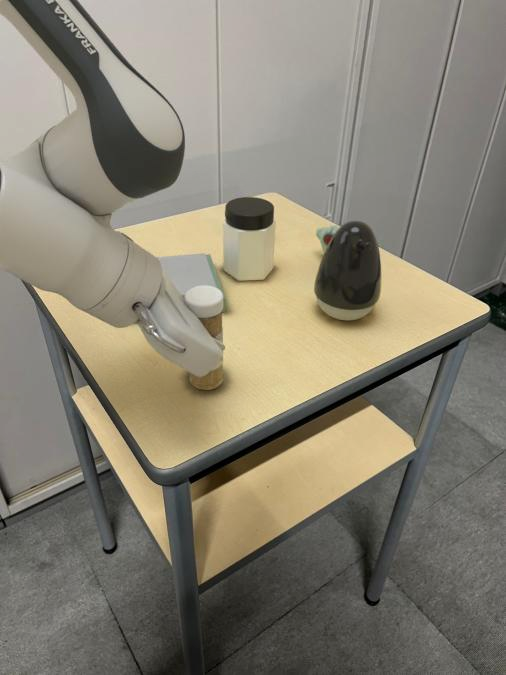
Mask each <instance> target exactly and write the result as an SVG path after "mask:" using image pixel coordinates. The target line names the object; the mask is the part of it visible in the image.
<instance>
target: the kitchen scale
mask: <svg viewBox="0 0 506 675" xmlns="http://www.w3.org/2000/svg"><path fill="white" fill-rule="evenodd" d="M155 257H156V258H158V260H159V261H160V263H161V266H162V270H163V271H164V272H165V273H166V274H167V276H168V277H169V279H170V280H171V281H172V283H173V284H174V285H175V287H176V288H177V290H178V291H179V292H180V294H181V295H182V297H183V298H184V297H185V294H186V292H187V291H188V290H189V289H191V288H193V287H196V286H202V285H206V286H212V287H215V288H217V289H219V290H220V291H221V292H222V294H223V311H222V313H226V311H227V310H226V309H227V308H226V306H227V302H226V296H225V293H224V289H223V288H222V284H221V282H220V279H219V275H218V274H217V270H216V267H215V264H214V261H213V259H212V256H211V254H209V253H205V252H204V253H192V254H191V253H190V254H179V255H169V256H168V255H167V256H166V255H165V256H155Z"/></svg>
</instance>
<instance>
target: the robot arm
mask: <svg viewBox="0 0 506 675" xmlns="http://www.w3.org/2000/svg"><path fill="white" fill-rule="evenodd" d="M0 15H1V16H3V17H4V18H5V19H6V20H7V21H8V22H9V23H10V24H11V25H12V26H13V27H14V29H16V30H17V32H18V33H19V34H20V35H21V36H22V37H23V39H24V40H25V41H26V42H27V43H28V44H29V46H31V47H32V49H33V50H34V51H35V52H36V54H37V55H39V57H40V58H41V59H42V60H43V61H44V63H45V64H46V65H47V66H48V67H49V69H51V71H52V72H53V73H54V74H55V75H56V76H57V77H58V79H59V80H61V82H62V83H63V84H64V85H65V87H66V88H67V89H68V90H69V92H70V93H71V94H72V96H73V98H74V100H75V106H76V109H75V110H73V111H72V112H70V114H68V115H67V116H65V117H64V118H63V119H62V120H60V122H58V123H56V124H55V125H53V126H51V127H50V128H49V129H48V130H47V131H45V132H44V133H43V134H41V135H40V136H39V137H37V138H36V139H35V140H34V141H33V142H32V143H30V144H29V146H27V147H26V148H25V149H24V150H22V151H20V152H19V153H17V154H16V155H14V156H12V157H9V158H8V159H6V160H3V161H0V268H1V270H4V271H5V272H6V273H9V274H10V275H12V276H14V277H15V278H18V279H19V280H21V281H22V282H25V283H27V284H28V285H30V286H32V287H35V288H37V289H39V290H41V291H43V292H48V293H54V294H58V296H61V297H62V298H64V299H66V300H67V302H68V303H70V304H71V305H72V306H73V307H74V308H76V309H78V310H79V311H82V312H84V313H86V314H88V315H90V316H92V317H94V318H96V319H98V320H99V321H102V322H104V323H106V325H107V324H108V325H110V326H111V327H113V328H116V329H124V328H128V327H130V326H132V325H138V327H139V328H140V330H141V332H142V334H143V336H144V337H145V339H146V341H147V343H148V344H149V346H150V347H151V348H152V349H153V350H154V351H155V352H156V353H158V354H159V355H160V356H161V357H163V358H164V359H166V360H167V361H169V362H171V363H173V364H174V365H176V366H177V367H179V368H181V369H183V370H185V371H186V372H188V373H189V374H190V373H192V374H194V375H195V376H198V377H202V376H205V375H207V374H208V373H209V372H210V371H211V370H212V369H213V367H214V366H215V365H216V364H217V363H218V361H219V360H220V359H221V357H222V355H223V356H224V351H225V349H226V346H225V344H224V342H223V343H222V342H221V340H220V339H218V338H216V337H215V336H213V335H210V334H209V332H208V331H207V330H206V328H205V327H204V326H203V324H202V323H201V321H200V320H199V319H198V317H197V316H196V315H195V313H194V312H193V311H192V310H191V309H190V308H189V307H188V306H187V305H186V304H185V299H184V298H183V297H182V295H181V294H180V292H179V291H178V290H177V288H176V287H175V285H174V284H173V283H172V281H171V280H170V279H169V277H168V276H167V274H166V273H165V272H164V271H163V270H162V266H161V263H160V261H159V260H158V258H156V257H157V256H155V255H153V253H150V252H149V251H147V250H146V249H145V248H143V247H142V246H140V245H139V244H137V243H136V242H135V241H134V240H133V239H132V238H131V237H129V236H128V235H127V234H125V233H124V232H122V231H120V230H117V231H116V230H115V229H114V228H113V227H112V226H111V225H112V224H111V220H112V216H113V213H115V212H117V211H119V210H120V209H122V208H124V207H126V206H128V205H129V204H131V203H134V202H135V201H137V200H139V199H144V198H145V197H147V196H150V195H151V196H152V195H153V194H155V193H158V192H160V191H163V190H165V189H168V188H170V187H171V186H173V185H174V184H175V183H176V181H177V180H178V178H179V176H180V173H181V170H182V166H183V162H184V159H185V150H186V137H185V136H186V135H185V129H184V125H183V123H182V120H181V118H180V116H179V114H178V112H177V111H176V109H175V107H174V106H173V105H172V104H171V102H170V101H169V100H168V98H166V97H165V95H163V94H162V92H160V91H159V90H158V89H157V88H156V87H155V86H154V85H153V84H152V83H151V82H150V81H148V79H146V78H145V77H144V76H143V75H142V74H141V73H140V72H139V71H138V70H137V69H136V68H135V67H134V66H133V65H132V64H131V63H130V62H129V61H128V60H127V59H126V58H125V56H124V55H123V54H122V52H121V51H119V49H118V47H116V45H115V44H114V42H112V40H111V39H110V38H109V37H108V36H107V35H106V33H105V32H104V30H103V29H102V28H101V27H100V26H99V25H98V23H97V22H96V21H95V20H94V19H93V17H92V16H91V15H90V14H89V13H88V11H87V10H86V8H84V6H83V5H82V4H81V3H80V1H78V0H0ZM222 352H223V353H222Z"/></svg>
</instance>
